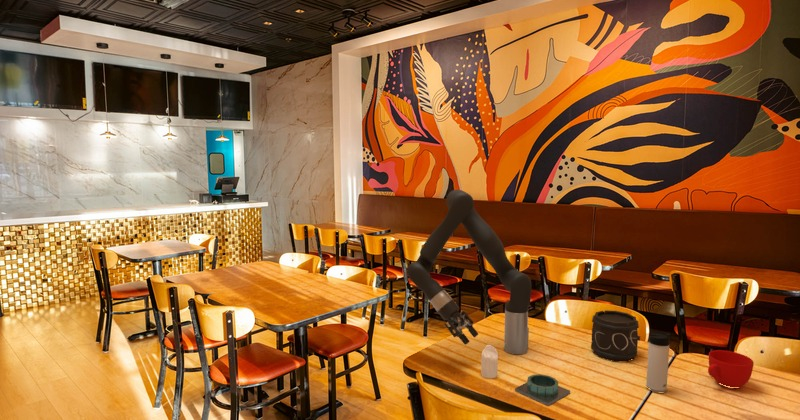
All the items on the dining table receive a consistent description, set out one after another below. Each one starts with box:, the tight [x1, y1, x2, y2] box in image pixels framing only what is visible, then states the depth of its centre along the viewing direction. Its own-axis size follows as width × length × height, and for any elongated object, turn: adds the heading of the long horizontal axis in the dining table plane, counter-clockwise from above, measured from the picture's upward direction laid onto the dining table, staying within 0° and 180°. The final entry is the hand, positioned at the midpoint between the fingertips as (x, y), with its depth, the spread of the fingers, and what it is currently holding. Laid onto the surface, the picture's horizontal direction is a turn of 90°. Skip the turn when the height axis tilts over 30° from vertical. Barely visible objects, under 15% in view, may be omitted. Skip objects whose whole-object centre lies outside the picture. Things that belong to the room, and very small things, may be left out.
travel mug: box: [645, 331, 672, 393], centre depth 166 cm, size 6×7×20 cm
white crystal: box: [480, 344, 499, 379], centre depth 177 cm, size 6×12×6 cm
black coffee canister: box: [590, 309, 641, 362], centre depth 196 cm, size 18×18×16 cm
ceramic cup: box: [707, 349, 754, 388], centre depth 169 cm, size 13×17×10 cm
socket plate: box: [514, 374, 571, 407], centre depth 165 cm, size 13×13×4 cm
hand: (472, 339), depth 180 cm, fingers open, 8 cm apart
